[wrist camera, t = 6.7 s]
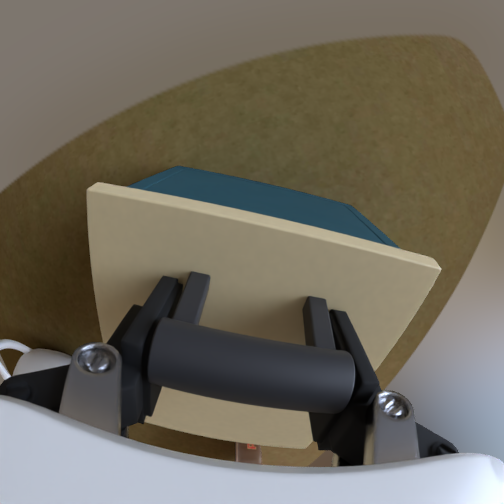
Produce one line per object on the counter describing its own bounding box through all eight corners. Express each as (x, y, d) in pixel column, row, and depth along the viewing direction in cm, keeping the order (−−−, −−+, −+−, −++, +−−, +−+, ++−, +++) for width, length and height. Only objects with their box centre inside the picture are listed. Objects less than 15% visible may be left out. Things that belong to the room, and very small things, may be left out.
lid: (97, 181, 9) (0, 254, 5) (433, 257, 10) (497, 353, 6) (125, 405, 17) (104, 466, 13) (304, 439, 18) (305, 502, 13)
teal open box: (177, 165, 20) (122, 187, 12) (351, 205, 20) (403, 251, 12) (158, 332, 25) (125, 405, 17) (295, 360, 26) (304, 439, 18)
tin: (234, 403, 28) (228, 470, 21) (265, 404, 28) (264, 472, 21) (235, 463, 34) (231, 512, 26) (257, 464, 34) (256, 514, 26)
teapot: (1, 326, 27) (-45, 375, 17) (51, 296, 24) (-12, 362, 14) (100, 437, 34) (78, 491, 24) (167, 433, 32) (149, 503, 22)
